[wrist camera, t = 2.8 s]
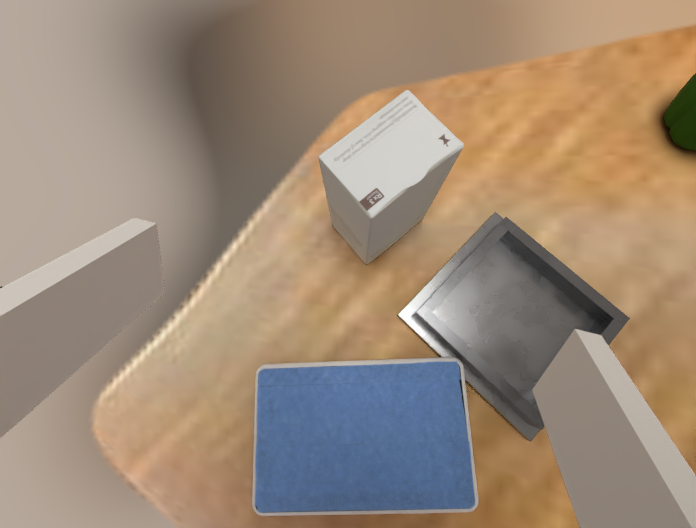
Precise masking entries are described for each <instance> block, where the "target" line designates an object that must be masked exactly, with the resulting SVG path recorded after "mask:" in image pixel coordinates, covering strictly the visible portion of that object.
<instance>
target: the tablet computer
mask: <svg viewBox="0 0 696 528" xmlns="http://www.w3.org/2000/svg"><path fill="white" fill-rule="evenodd" d="M478 503H479V502H478V491H477V482H476V473H475V465H474V455H473V446H472V438H471V428H470V420H469V410H468V402H467V393H466V385H465V375H464V367H463V364H462V363H461V361H460V360H459V359H458V358H455V357H433V358H410V359H382V360H355V361H328V362H305V363H279V364H264V365H261V366H260V367H259V368H258V370H257V372H256V376H255V416H254V457H253V490H252V507H253V509H254V511H255V512H256V514H258V515H260V516H293V515H357V514H417V513H419V514H428V513H456V512H472V511H474V510H475V509H476V508H477V506H478Z"/></svg>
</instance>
